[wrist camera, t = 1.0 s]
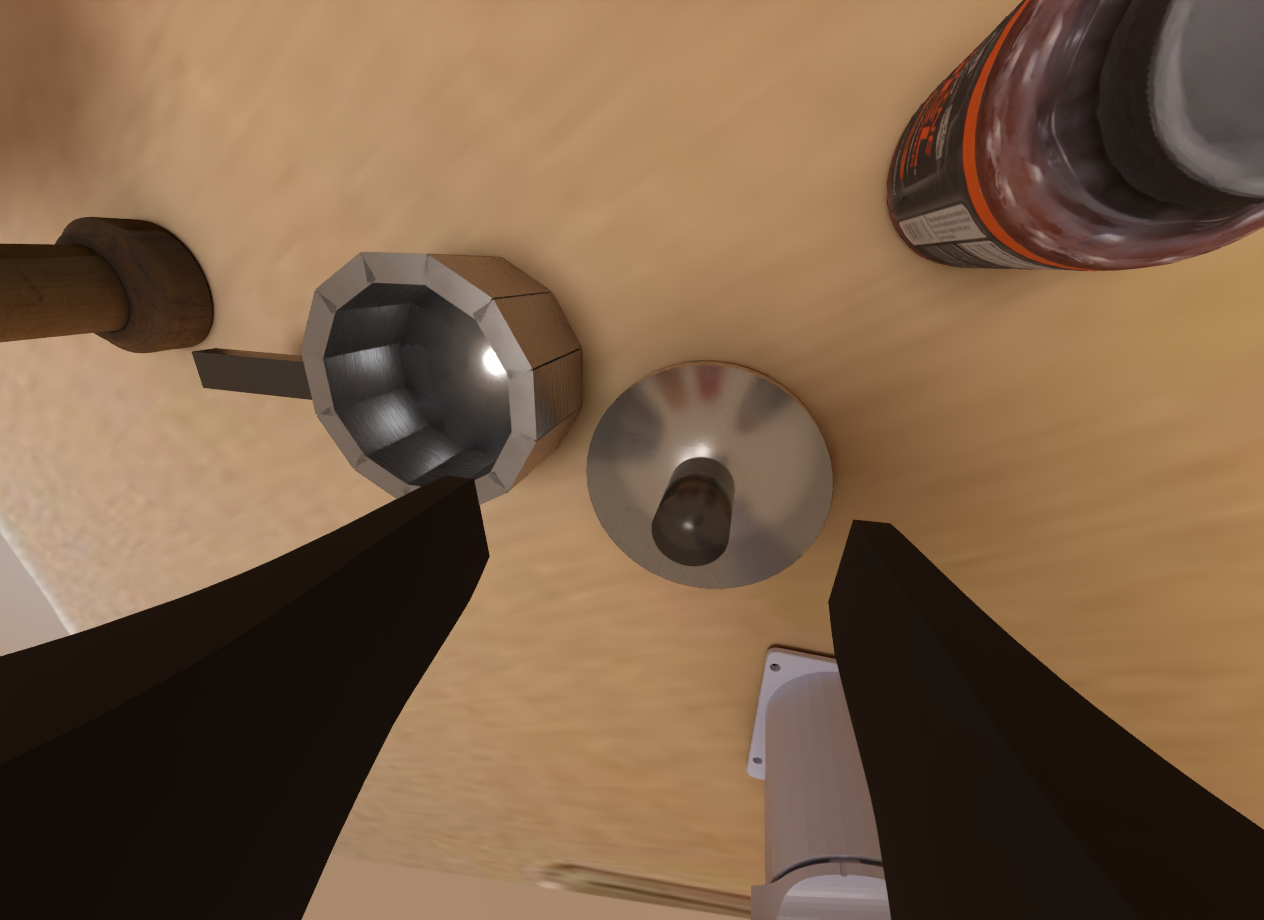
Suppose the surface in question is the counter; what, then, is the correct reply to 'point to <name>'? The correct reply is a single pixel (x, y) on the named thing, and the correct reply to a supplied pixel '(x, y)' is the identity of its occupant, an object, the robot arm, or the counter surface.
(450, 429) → the saucepan
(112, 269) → the brown post with knob
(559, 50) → the counter surface
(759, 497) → the lid
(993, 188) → the supplement bottle
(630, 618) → the counter surface
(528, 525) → the counter surface
